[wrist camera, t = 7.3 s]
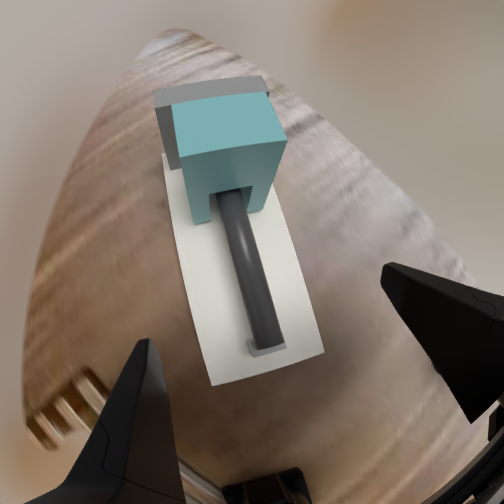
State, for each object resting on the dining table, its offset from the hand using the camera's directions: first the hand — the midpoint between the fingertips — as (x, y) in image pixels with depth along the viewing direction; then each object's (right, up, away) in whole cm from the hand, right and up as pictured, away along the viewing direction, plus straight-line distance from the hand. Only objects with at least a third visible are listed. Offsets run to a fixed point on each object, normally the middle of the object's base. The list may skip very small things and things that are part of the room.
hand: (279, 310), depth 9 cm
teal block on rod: (-3, +6, +10) cm, 12 cm away
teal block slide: (-2, +2, +11) cm, 12 cm away
